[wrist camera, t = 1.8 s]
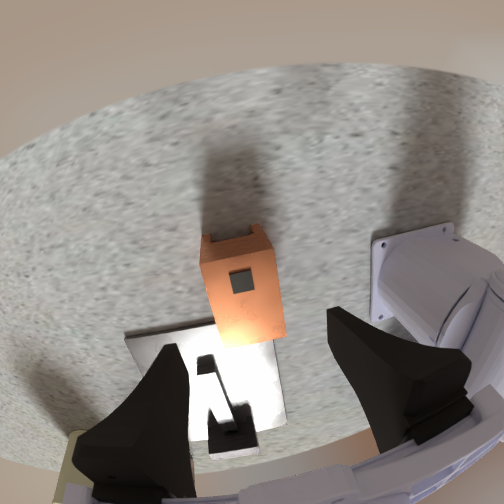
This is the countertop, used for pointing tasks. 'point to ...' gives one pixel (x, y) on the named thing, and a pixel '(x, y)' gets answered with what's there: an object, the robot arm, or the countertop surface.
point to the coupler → (221, 386)
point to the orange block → (243, 288)
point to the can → (70, 470)
